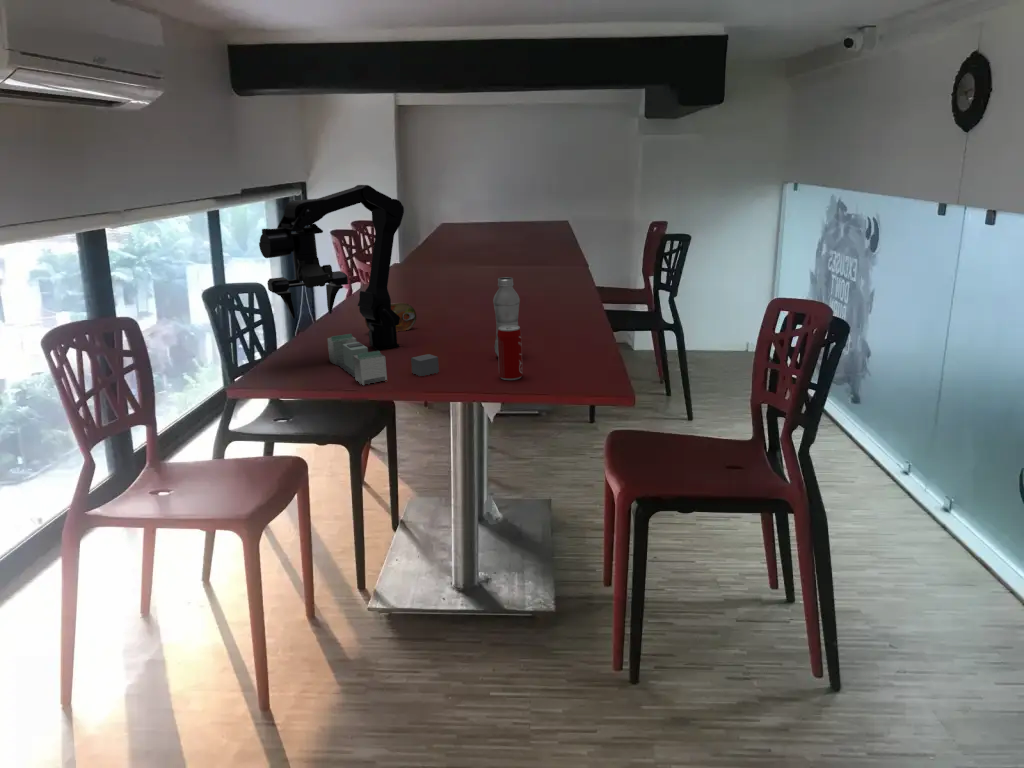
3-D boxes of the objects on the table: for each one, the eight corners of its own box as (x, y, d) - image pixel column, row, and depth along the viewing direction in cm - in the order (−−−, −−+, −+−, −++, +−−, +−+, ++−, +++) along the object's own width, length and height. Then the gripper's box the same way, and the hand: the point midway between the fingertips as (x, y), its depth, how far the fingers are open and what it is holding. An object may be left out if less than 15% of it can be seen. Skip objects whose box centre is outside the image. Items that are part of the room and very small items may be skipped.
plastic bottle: (491, 356, 198) (487, 277, 193) (515, 352, 201) (512, 275, 195) (500, 361, 193) (497, 281, 187) (525, 358, 195) (523, 278, 189)
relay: (429, 369, 189) (428, 353, 187) (439, 373, 186) (437, 357, 184) (412, 374, 186) (410, 357, 184) (421, 377, 183) (419, 361, 181)
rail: (352, 357, 202) (349, 331, 200) (387, 381, 180) (384, 352, 178) (329, 361, 199) (326, 335, 197) (362, 385, 177) (359, 356, 175)
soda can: (523, 380, 177) (522, 328, 174) (500, 381, 177) (497, 329, 173) (521, 373, 183) (520, 323, 179) (498, 374, 182) (496, 324, 179)
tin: (367, 336, 225) (365, 307, 223) (365, 334, 228) (362, 305, 225) (417, 329, 231) (415, 301, 228) (414, 327, 234) (412, 300, 231)
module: (360, 361, 193) (358, 340, 192) (369, 367, 187) (367, 346, 186) (344, 363, 191) (342, 343, 190) (353, 370, 186) (351, 348, 184)
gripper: (273, 260, 180) (282, 326, 184) (352, 253, 188) (358, 316, 193) (263, 255, 189) (271, 318, 194) (338, 248, 198) (344, 309, 202)
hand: (312, 315), depth 195 cm, fingers open, 9 cm apart
